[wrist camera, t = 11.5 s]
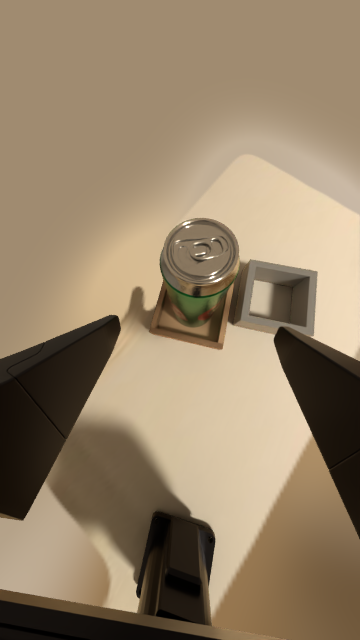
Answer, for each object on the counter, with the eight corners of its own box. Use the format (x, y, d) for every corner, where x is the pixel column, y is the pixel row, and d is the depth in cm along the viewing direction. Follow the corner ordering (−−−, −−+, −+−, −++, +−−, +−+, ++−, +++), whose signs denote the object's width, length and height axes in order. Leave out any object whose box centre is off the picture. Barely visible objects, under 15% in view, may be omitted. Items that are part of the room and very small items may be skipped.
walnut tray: (218, 349, 20) (222, 349, 18) (152, 334, 21) (149, 331, 19) (230, 286, 22) (234, 279, 20) (168, 274, 22) (167, 266, 21)
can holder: (294, 338, 20) (313, 336, 17) (232, 325, 21) (240, 320, 18) (299, 282, 21) (317, 271, 18) (241, 272, 22) (250, 259, 19)
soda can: (169, 296, 21) (148, 223, 9) (206, 287, 21) (230, 203, 9) (178, 332, 20) (167, 300, 8) (217, 323, 20) (259, 278, 8)
